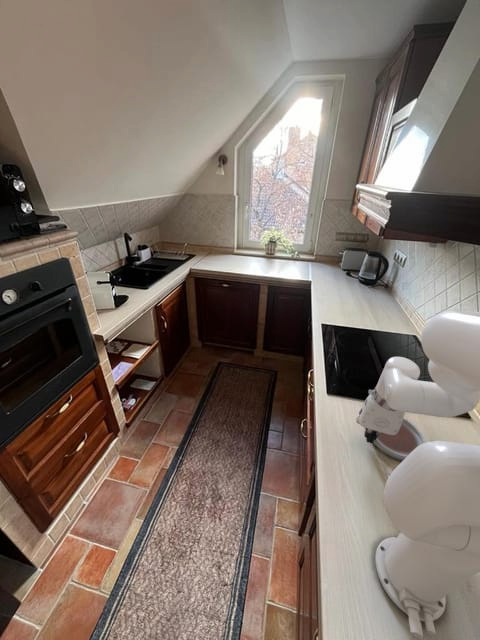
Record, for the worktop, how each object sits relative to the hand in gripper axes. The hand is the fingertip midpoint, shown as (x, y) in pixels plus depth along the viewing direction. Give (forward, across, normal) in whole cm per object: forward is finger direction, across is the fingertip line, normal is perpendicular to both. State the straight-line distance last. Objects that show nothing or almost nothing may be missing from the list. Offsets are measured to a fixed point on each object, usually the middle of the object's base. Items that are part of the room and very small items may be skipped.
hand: (369, 438), depth 79 cm
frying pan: (+2, +10, 0) cm, 10 cm away
